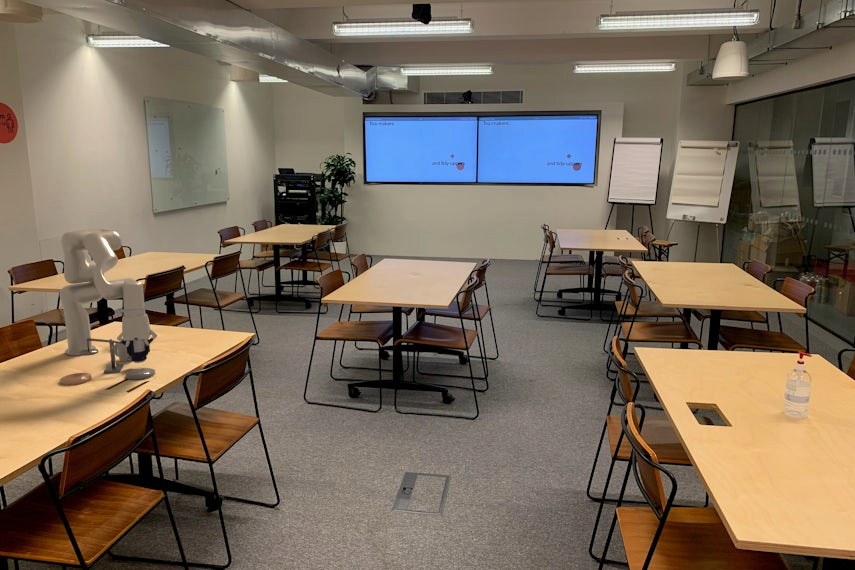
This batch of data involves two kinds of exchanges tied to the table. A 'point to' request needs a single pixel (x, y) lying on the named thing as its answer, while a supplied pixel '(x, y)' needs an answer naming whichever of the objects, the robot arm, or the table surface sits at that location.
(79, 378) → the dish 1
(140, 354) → the beverage can
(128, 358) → the balance
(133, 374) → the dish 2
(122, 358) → the cup
